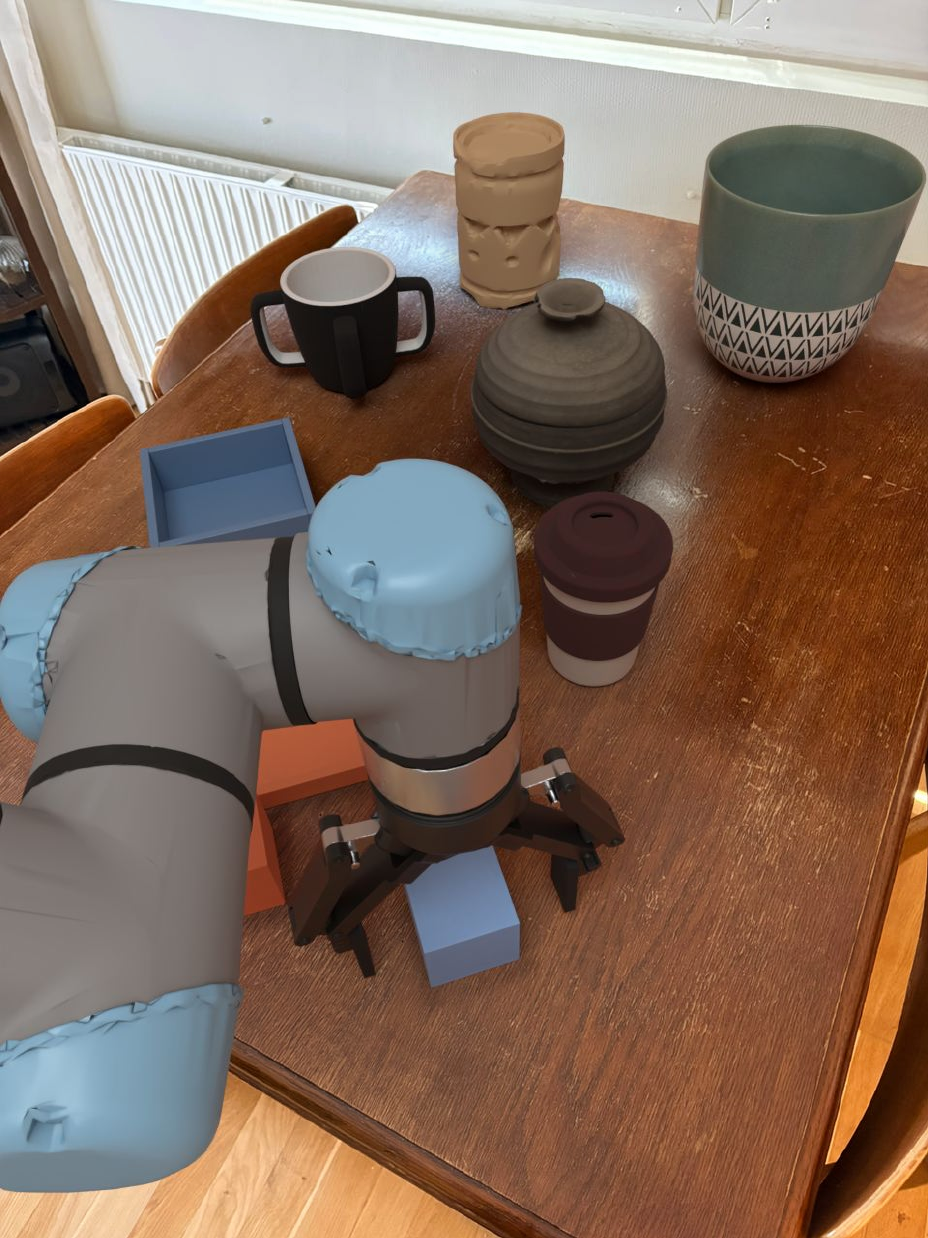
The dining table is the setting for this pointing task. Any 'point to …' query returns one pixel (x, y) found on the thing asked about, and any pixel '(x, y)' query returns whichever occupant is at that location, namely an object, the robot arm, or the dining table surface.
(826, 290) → the planter
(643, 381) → the pot
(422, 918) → the blue block
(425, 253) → the dining table surface
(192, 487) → the blue bin
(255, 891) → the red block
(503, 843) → the robot arm
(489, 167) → the container
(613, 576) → the coffee cup
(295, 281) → the mug
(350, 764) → the clay tray
